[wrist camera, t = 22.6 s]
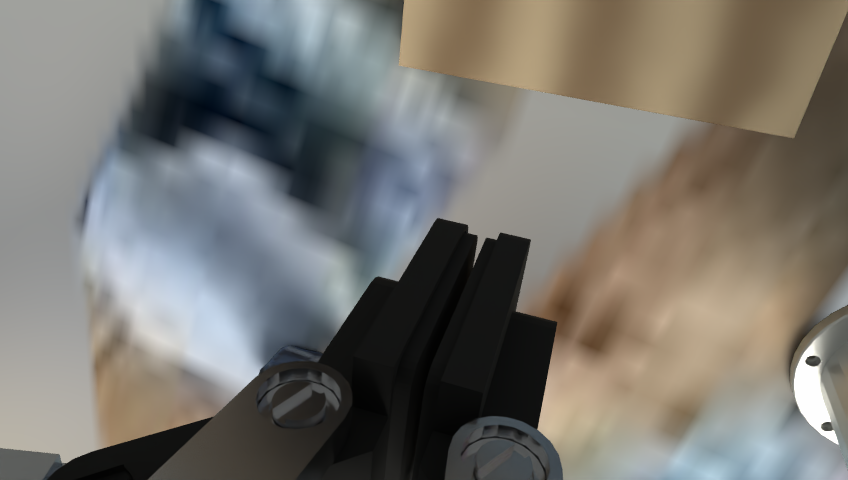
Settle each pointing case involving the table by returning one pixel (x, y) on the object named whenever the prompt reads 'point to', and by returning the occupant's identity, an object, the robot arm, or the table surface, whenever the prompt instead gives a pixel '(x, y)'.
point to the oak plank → (638, 52)
